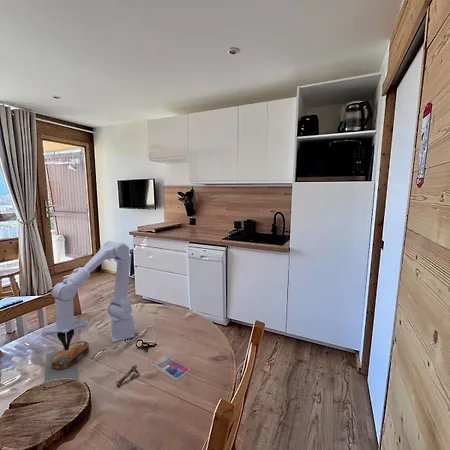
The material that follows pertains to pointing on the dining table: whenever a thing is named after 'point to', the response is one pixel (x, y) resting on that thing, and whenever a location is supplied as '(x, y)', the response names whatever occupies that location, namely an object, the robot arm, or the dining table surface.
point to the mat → (59, 370)
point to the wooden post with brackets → (128, 375)
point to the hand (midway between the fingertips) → (66, 348)
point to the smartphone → (170, 367)
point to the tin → (70, 355)
